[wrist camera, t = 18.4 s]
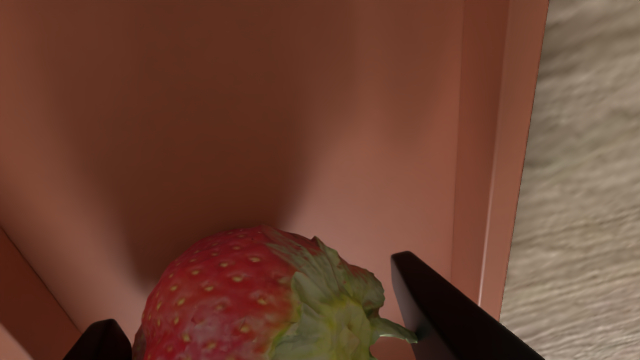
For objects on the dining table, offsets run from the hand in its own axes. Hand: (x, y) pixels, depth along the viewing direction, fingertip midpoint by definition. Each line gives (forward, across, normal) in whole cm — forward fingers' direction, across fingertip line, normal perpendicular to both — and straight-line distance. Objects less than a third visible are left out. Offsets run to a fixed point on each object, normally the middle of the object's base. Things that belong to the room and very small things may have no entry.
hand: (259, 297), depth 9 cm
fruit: (+1, 0, 0) cm, 1 cm away
